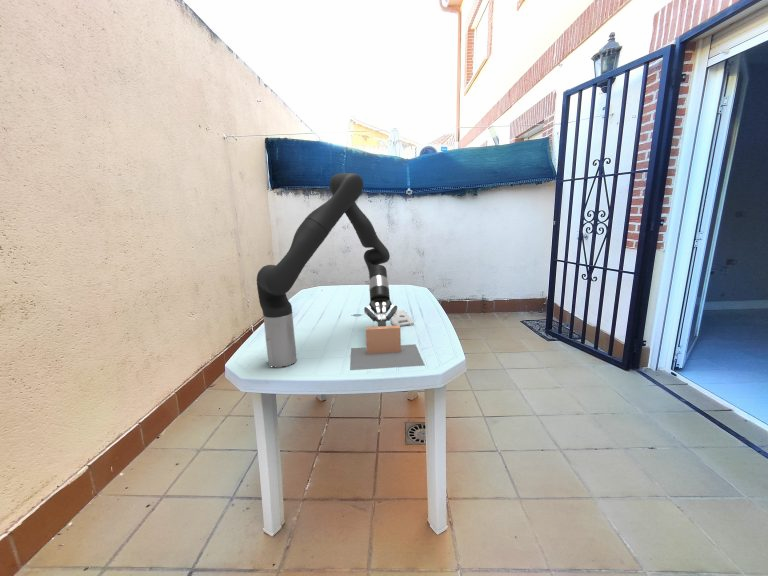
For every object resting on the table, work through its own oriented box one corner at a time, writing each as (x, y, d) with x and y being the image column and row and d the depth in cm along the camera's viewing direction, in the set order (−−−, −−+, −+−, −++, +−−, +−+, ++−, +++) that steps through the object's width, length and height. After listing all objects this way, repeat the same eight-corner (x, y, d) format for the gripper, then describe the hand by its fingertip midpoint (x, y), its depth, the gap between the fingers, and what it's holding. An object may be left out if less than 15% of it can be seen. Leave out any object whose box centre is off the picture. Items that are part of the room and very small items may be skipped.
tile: (367, 353, 120) (365, 329, 118) (366, 351, 122) (365, 327, 120) (400, 351, 121) (400, 327, 119) (400, 349, 123) (399, 325, 121)
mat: (350, 371, 108) (349, 370, 108) (351, 349, 126) (351, 348, 126) (424, 366, 110) (424, 365, 110) (415, 345, 127) (415, 344, 127)
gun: (386, 309, 163) (406, 308, 165) (386, 316, 164) (406, 315, 166) (394, 323, 146) (416, 321, 147) (394, 330, 147) (416, 329, 148)
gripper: (361, 285, 128) (363, 326, 119) (396, 283, 129) (401, 324, 120) (362, 295, 135) (364, 336, 125) (395, 294, 136) (400, 334, 126)
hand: (382, 330), depth 123 cm, fingers closed
